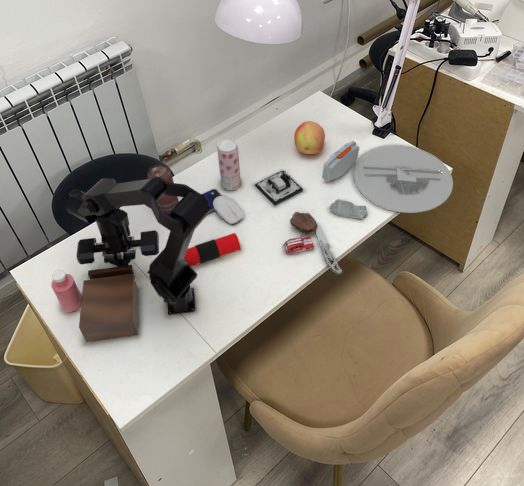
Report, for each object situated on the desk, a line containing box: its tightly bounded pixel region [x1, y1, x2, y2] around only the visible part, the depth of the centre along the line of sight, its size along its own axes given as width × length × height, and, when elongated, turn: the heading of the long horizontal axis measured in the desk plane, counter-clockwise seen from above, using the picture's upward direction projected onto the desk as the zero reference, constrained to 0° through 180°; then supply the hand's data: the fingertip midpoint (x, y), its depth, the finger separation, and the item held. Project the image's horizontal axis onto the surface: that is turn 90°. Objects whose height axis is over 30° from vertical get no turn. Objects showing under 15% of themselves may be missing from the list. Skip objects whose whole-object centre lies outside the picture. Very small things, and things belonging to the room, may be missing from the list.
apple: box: [293, 120, 326, 155], centre depth 167 cm, size 10×10×10 cm
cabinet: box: [78, 274, 140, 343], centre depth 128 cm, size 13×12×7 cm
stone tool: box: [329, 198, 368, 220], centre depth 151 cm, size 10×2×5 cm
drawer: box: [87, 264, 137, 281], centre depth 131 cm, size 13×10×5 cm
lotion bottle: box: [50, 268, 82, 313], centre depth 129 cm, size 5×5×12 cm
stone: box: [289, 211, 318, 235], centre depth 147 cm, size 7×7×3 cm
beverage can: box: [216, 138, 242, 191], centre depth 155 cm, size 6×6×15 cm
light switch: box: [254, 170, 304, 206], centre depth 157 cm, size 10×4×10 cm
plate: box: [353, 144, 454, 214], centre depth 160 cm, size 28×28×1 cm
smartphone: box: [201, 188, 223, 214], centre depth 154 cm, size 7×1×15 cm
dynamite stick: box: [184, 232, 242, 268], centre depth 140 cm, size 5×5×20 cm
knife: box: [315, 223, 343, 276], centre depth 142 cm, size 2×18×3 cm
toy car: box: [282, 236, 315, 256], centre depth 142 cm, size 4×8×3 cm, turn 105°
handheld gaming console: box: [321, 140, 360, 182], centre depth 160 cm, size 14×3×8 cm, turn 136°
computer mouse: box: [213, 195, 245, 224], centre depth 151 cm, size 6×10×3 cm, turn 39°
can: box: [147, 163, 180, 214], centre depth 149 cm, size 6×6×14 cm
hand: (125, 268), depth 137 cm, fingers closed
